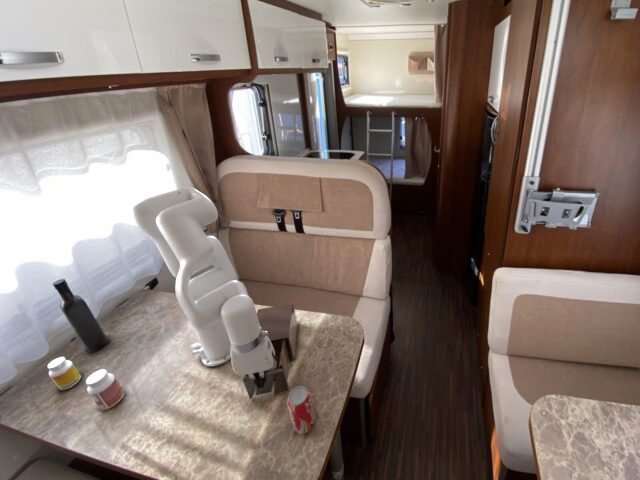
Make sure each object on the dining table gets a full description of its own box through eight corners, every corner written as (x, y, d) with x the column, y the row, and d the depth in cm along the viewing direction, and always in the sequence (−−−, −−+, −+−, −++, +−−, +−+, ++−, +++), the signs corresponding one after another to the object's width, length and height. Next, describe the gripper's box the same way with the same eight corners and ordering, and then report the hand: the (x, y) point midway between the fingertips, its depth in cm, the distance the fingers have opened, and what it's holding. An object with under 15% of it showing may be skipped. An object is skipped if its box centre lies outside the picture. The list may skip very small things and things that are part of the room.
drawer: (287, 407, 88) (281, 387, 84) (246, 416, 86) (238, 396, 82) (292, 350, 105) (288, 332, 102) (258, 357, 103) (253, 338, 100)
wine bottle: (90, 354, 110) (49, 289, 98) (85, 347, 112) (44, 284, 100) (109, 342, 114) (72, 279, 102) (104, 336, 117) (67, 274, 105)
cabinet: (294, 359, 103) (288, 337, 99) (255, 367, 101) (248, 344, 97) (297, 323, 117) (292, 303, 113) (263, 330, 115) (257, 309, 111)
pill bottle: (127, 386, 97) (112, 363, 93) (121, 404, 92) (106, 380, 88) (103, 395, 95) (87, 372, 90) (95, 414, 90) (78, 390, 85)
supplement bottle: (84, 378, 101) (71, 358, 97) (63, 393, 96) (48, 372, 93) (76, 372, 103) (63, 352, 99) (56, 386, 99) (41, 366, 95)
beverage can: (310, 437, 81) (303, 409, 76) (289, 432, 82) (281, 405, 78) (319, 412, 87) (313, 385, 82) (300, 409, 88) (292, 381, 83)
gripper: (278, 321, 84) (289, 366, 91) (221, 332, 81) (237, 376, 89) (274, 345, 77) (287, 390, 84) (212, 356, 74) (230, 402, 82)
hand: (261, 383), depth 87 cm, fingers closed
